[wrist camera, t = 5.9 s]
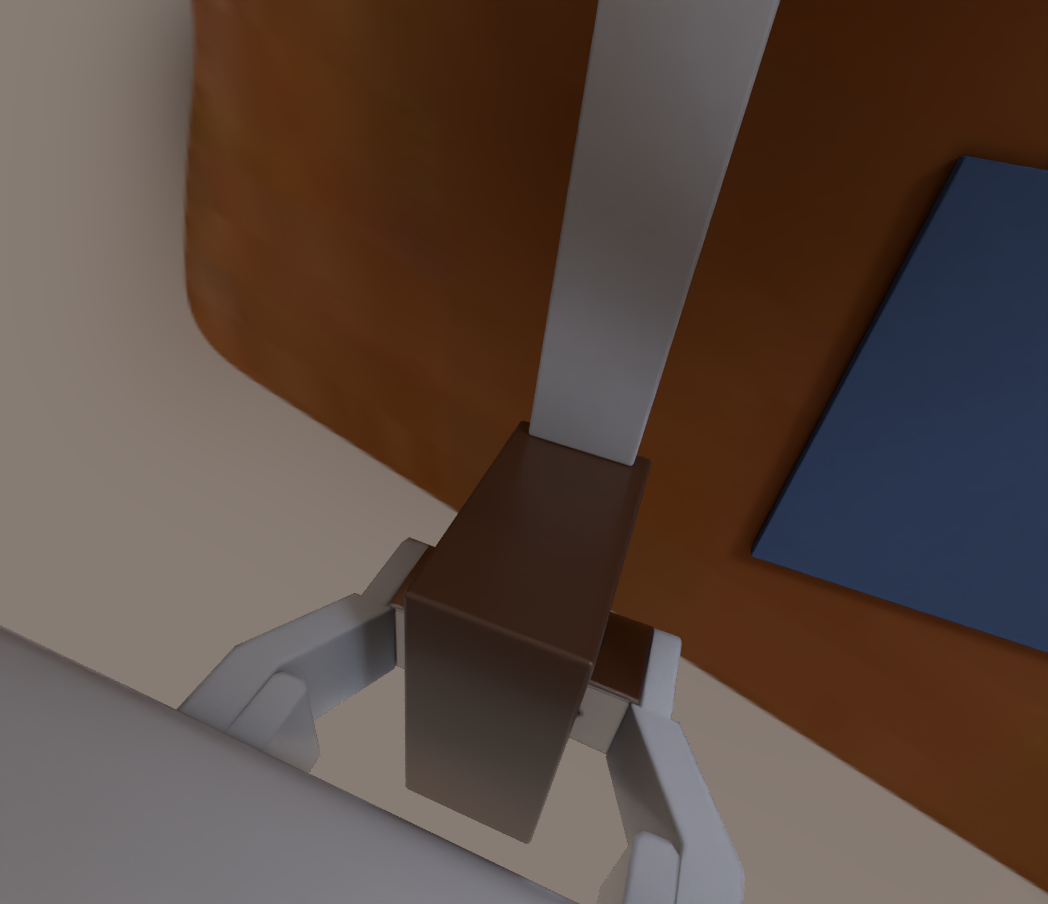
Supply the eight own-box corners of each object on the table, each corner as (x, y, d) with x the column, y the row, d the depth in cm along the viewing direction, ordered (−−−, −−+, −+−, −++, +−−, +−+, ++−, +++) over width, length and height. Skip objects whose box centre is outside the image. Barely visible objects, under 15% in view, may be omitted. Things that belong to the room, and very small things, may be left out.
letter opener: (588, 646, 14) (528, 847, 10) (492, 609, 14) (404, 788, 11) (825, -47, 6) (921, -224, 2) (593, -74, 6) (390, -254, 3)
